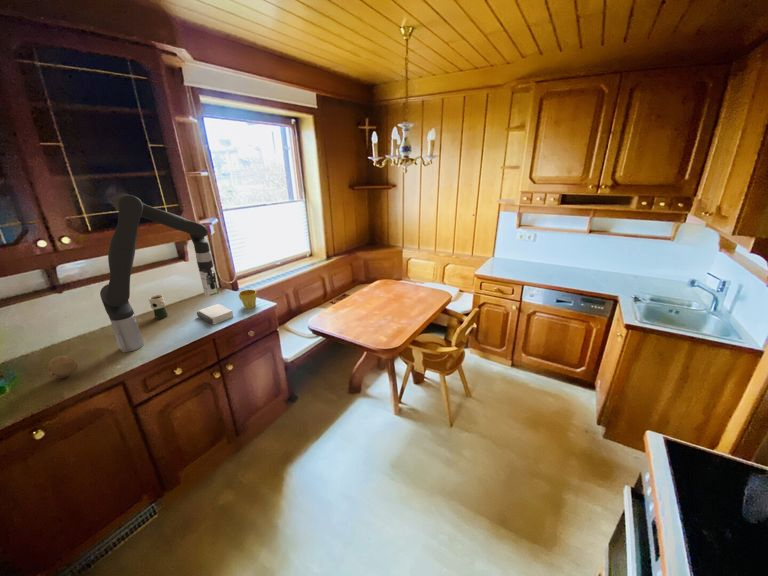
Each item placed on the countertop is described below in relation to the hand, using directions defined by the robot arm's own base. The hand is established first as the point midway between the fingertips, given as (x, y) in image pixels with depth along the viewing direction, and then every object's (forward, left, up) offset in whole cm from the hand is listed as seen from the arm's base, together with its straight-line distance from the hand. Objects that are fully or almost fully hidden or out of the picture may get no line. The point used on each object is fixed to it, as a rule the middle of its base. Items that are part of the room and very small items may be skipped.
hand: (210, 287), depth 181 cm
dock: (0, 0, -19) cm, 19 cm away
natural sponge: (-67, -4, -19) cm, 70 cm away
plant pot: (+20, -3, -19) cm, 28 cm away
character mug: (-20, +25, -19) cm, 37 cm away
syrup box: (0, 0, -5) cm, 5 cm away
